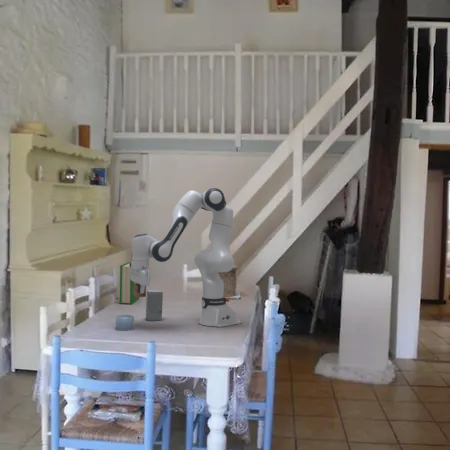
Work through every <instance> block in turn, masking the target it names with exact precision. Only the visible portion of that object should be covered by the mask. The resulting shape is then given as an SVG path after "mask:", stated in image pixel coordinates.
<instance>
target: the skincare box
mask: <svg viewBox="0 0 450 450" xmlns="http://www.w3.org/2000/svg"><path fill="white" fill-rule="evenodd" d="M163 293H164V292H163V291H162V290H160V289H159V290H158V289H157V290H156V289H152V290H151V289H148V290H147V289H146V303H145V319H146V320H147V321H148V322H151V321H162V320H163V301H164V300H163V297H164V295H163Z"/></svg>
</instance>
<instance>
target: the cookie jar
mask: <svg viewBox="0 0 450 450" xmlns="http://www.w3.org/2000/svg"><path fill="white" fill-rule="evenodd" d="M237 270H238V266H236V265H235V264H234V266H233V268H232V269H231V270H230V271H229V272H222V273H220V272H218V274H219V276H220V278H221V280H222V281H223V283H224V293H223V297H225V298H229V299H230V300H231V299H232V300H239V299H240V298H241V291H239V290H237V275H236V274H237Z"/></svg>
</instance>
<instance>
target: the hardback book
mask: <svg viewBox="0 0 450 450" xmlns="http://www.w3.org/2000/svg"><path fill="white" fill-rule="evenodd" d="M131 262H132V261H130V262H128V261H127V262H125V263H124V264H123V263H122V264H121V265H119V266H120V267H119V305H123V304H129V305H133V304H134V303H136V302H138V301H139V299H140V297H135V296H133V285H134V284H135V282H133V281H131V279H130V268H131V267H129V263H131Z"/></svg>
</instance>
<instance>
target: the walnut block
mask: <svg viewBox="0 0 450 450" xmlns="http://www.w3.org/2000/svg"><path fill="white" fill-rule="evenodd" d="M140 288H141V287H140V284H134V285H133V296H135V297H139V298H144V297H145V298H147V286H145V289H144V293H140Z"/></svg>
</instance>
